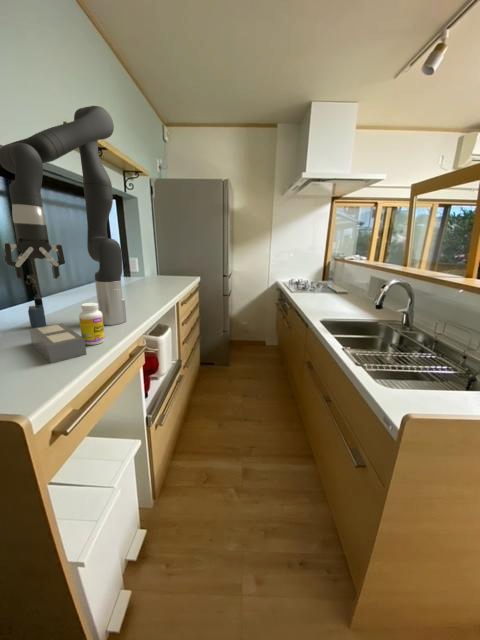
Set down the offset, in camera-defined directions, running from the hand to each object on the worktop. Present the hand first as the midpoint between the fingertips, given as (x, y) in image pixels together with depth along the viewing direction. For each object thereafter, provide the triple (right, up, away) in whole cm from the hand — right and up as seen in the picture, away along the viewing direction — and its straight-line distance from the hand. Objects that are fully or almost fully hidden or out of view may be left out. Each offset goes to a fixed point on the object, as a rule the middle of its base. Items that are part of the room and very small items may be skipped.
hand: (39, 279), depth 82 cm
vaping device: (-15, -15, +20) cm, 29 cm away
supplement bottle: (+13, -20, +7) cm, 25 cm away
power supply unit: (+5, -21, 0) cm, 22 cm away
